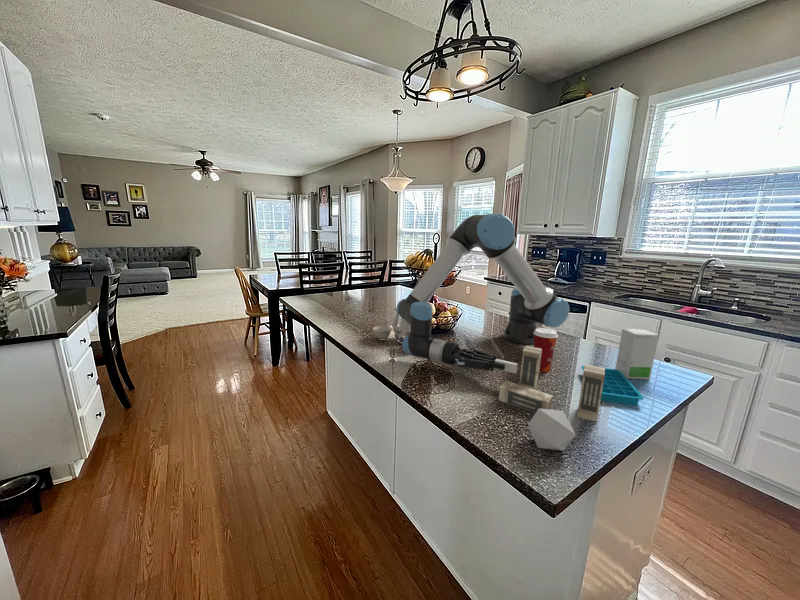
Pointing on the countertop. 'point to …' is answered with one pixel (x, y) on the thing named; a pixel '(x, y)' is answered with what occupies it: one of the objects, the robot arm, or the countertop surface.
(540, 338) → the paper cup
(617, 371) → the ice cube tray
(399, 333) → the chinaware
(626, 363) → the skincare box
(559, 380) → the countertop surface
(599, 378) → the post
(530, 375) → the post
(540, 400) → the post
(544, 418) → the die
